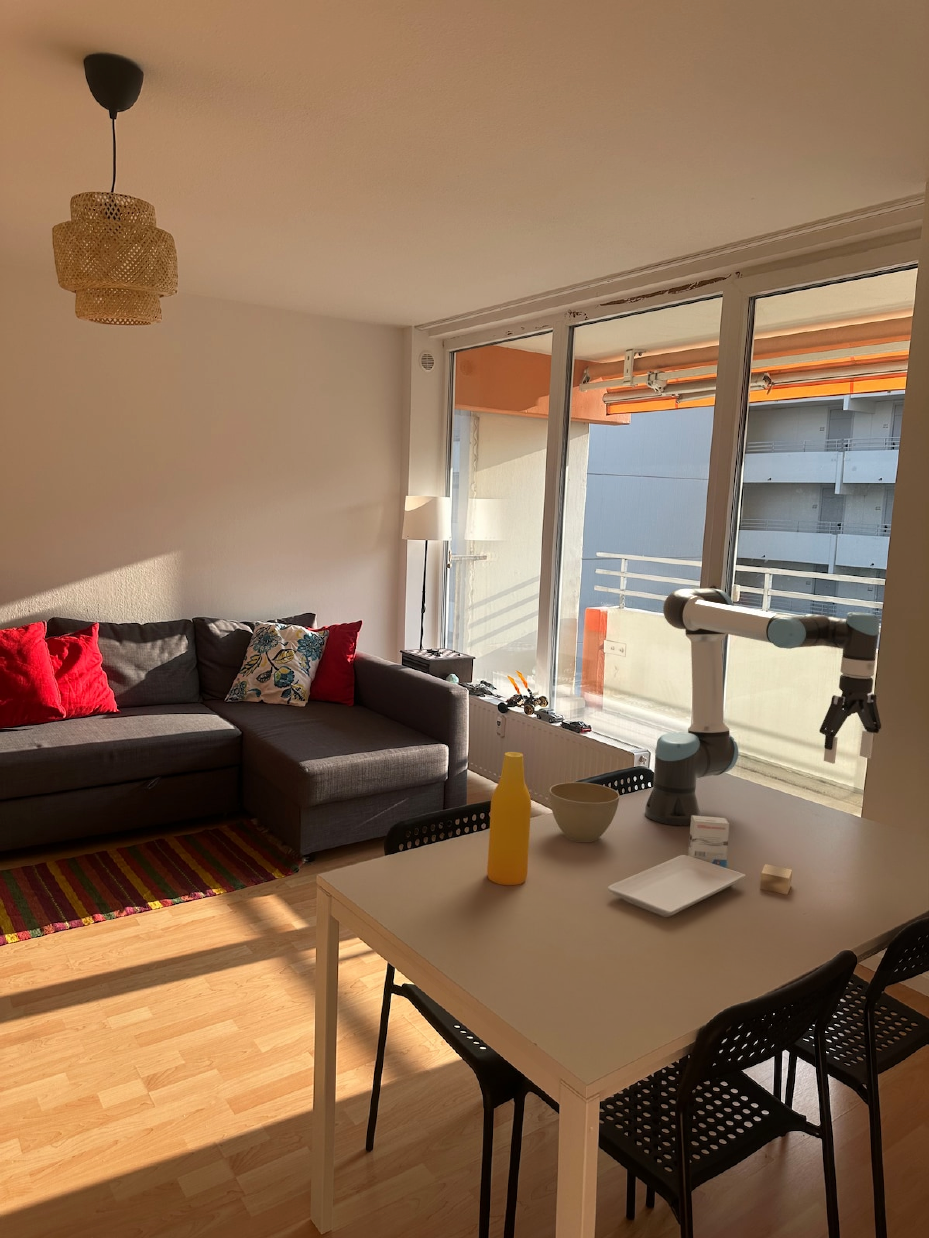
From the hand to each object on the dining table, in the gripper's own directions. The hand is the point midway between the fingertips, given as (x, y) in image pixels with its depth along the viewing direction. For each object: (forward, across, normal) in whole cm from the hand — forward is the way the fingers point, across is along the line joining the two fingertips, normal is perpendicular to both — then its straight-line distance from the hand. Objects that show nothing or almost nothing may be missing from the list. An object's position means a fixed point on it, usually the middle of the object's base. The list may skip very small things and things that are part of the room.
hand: (847, 759), depth 221 cm
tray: (+27, -52, +1) cm, 59 cm away
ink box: (+27, -34, +11) cm, 45 cm away
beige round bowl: (+27, -51, +38) cm, 69 cm away
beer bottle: (+27, -83, +23) cm, 91 cm away
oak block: (+26, -28, -6) cm, 39 cm away
